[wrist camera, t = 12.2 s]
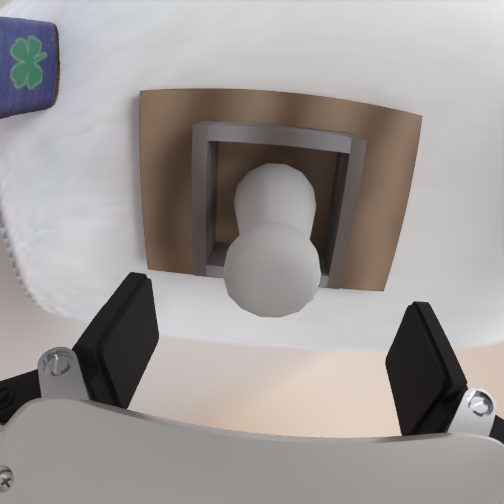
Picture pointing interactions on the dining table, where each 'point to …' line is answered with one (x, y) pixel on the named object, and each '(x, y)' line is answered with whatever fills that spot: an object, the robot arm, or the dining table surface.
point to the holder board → (278, 152)
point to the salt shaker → (273, 243)
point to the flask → (28, 66)
